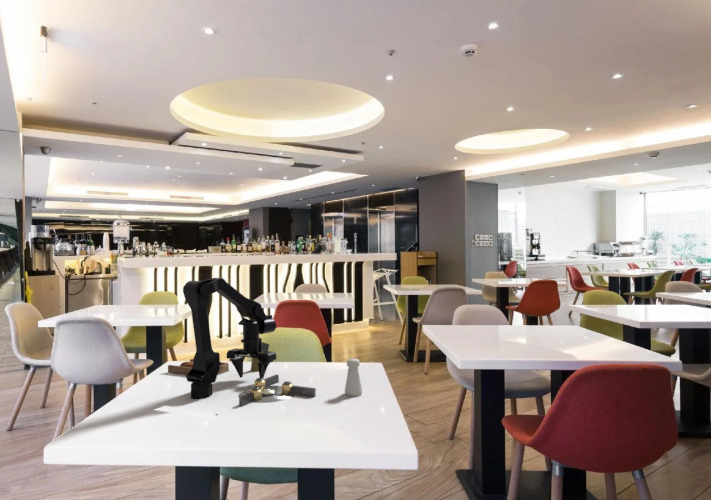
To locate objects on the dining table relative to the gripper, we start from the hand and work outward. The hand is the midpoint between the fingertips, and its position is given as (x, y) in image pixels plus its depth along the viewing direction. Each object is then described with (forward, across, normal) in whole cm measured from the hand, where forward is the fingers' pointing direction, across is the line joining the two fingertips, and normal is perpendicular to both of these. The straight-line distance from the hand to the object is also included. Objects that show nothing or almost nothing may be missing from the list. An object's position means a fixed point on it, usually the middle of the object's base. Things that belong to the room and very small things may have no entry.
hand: (251, 378), depth 169 cm
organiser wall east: (+2, +34, -15) cm, 37 cm away
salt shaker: (+3, -41, 0) cm, 41 cm away
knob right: (+1, -25, +7) cm, 26 cm away
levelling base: (+2, -15, +13) cm, 20 cm away
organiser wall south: (+2, +23, -8) cm, 25 cm away
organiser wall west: (+2, +34, -2) cm, 34 cm away
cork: (+3, +9, -16) cm, 18 cm away
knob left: (+1, -9, +3) cm, 10 cm away
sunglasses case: (+3, +33, -10) cm, 35 cm away
